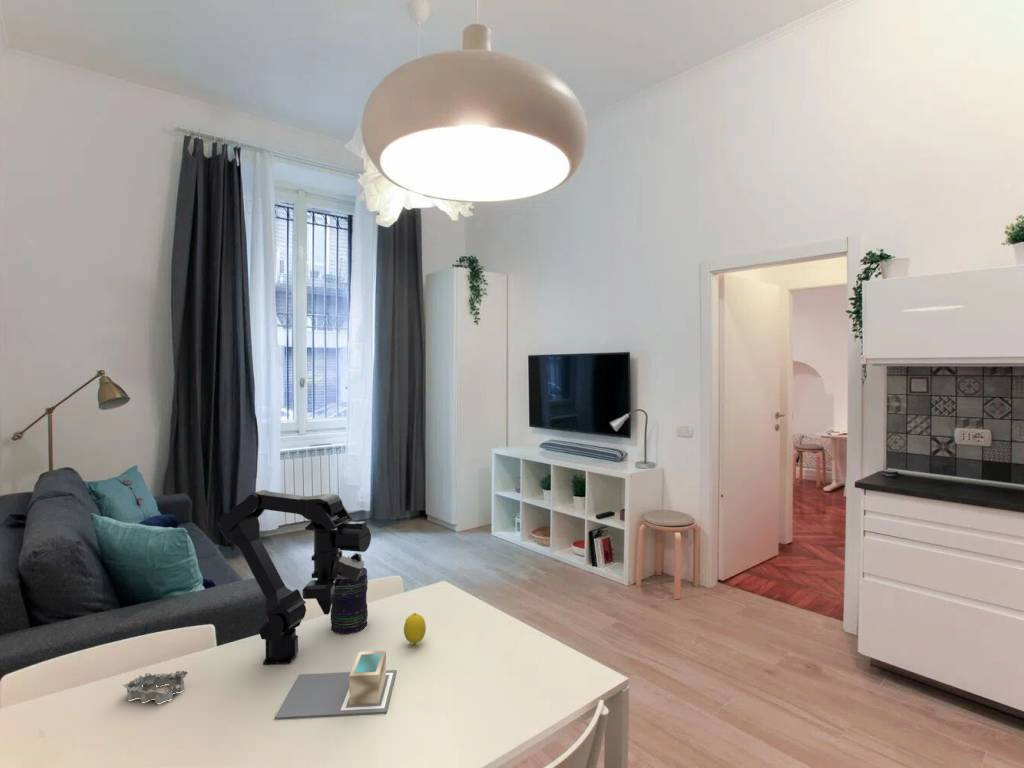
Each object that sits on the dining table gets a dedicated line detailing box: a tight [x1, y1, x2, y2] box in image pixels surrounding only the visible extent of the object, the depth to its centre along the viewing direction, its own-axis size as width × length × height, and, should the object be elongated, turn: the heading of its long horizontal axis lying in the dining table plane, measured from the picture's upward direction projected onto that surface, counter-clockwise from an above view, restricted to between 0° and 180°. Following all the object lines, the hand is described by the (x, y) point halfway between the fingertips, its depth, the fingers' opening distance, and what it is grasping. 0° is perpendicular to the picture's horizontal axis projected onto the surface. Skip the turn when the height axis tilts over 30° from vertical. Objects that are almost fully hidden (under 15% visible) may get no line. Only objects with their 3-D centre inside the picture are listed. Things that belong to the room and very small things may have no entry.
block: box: [349, 650, 387, 705], centre depth 118 cm, size 6×10×6 cm, turn 5°
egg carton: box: [122, 670, 188, 704], centre depth 118 cm, size 11×8×4 cm
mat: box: [274, 669, 397, 720], centre depth 118 cm, size 22×16×1 cm
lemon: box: [403, 612, 427, 645], centre depth 140 cm, size 6×6×8 cm
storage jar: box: [330, 566, 369, 635], centre depth 150 cm, size 10×10×15 cm
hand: (326, 613), depth 130 cm, fingers closed
